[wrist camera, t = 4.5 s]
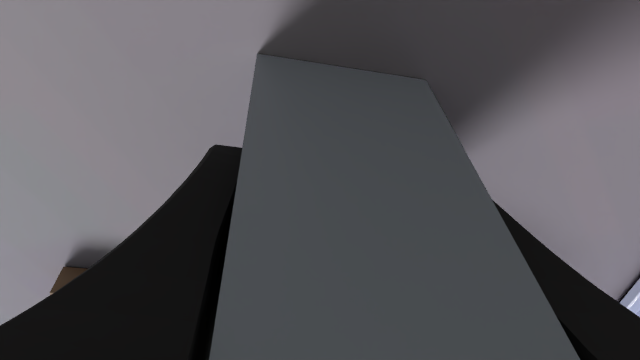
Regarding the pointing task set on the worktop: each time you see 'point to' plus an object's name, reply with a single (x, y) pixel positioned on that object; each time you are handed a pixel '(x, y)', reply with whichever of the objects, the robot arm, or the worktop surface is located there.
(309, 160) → the plug
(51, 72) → the worktop surface
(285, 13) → the worktop surface
